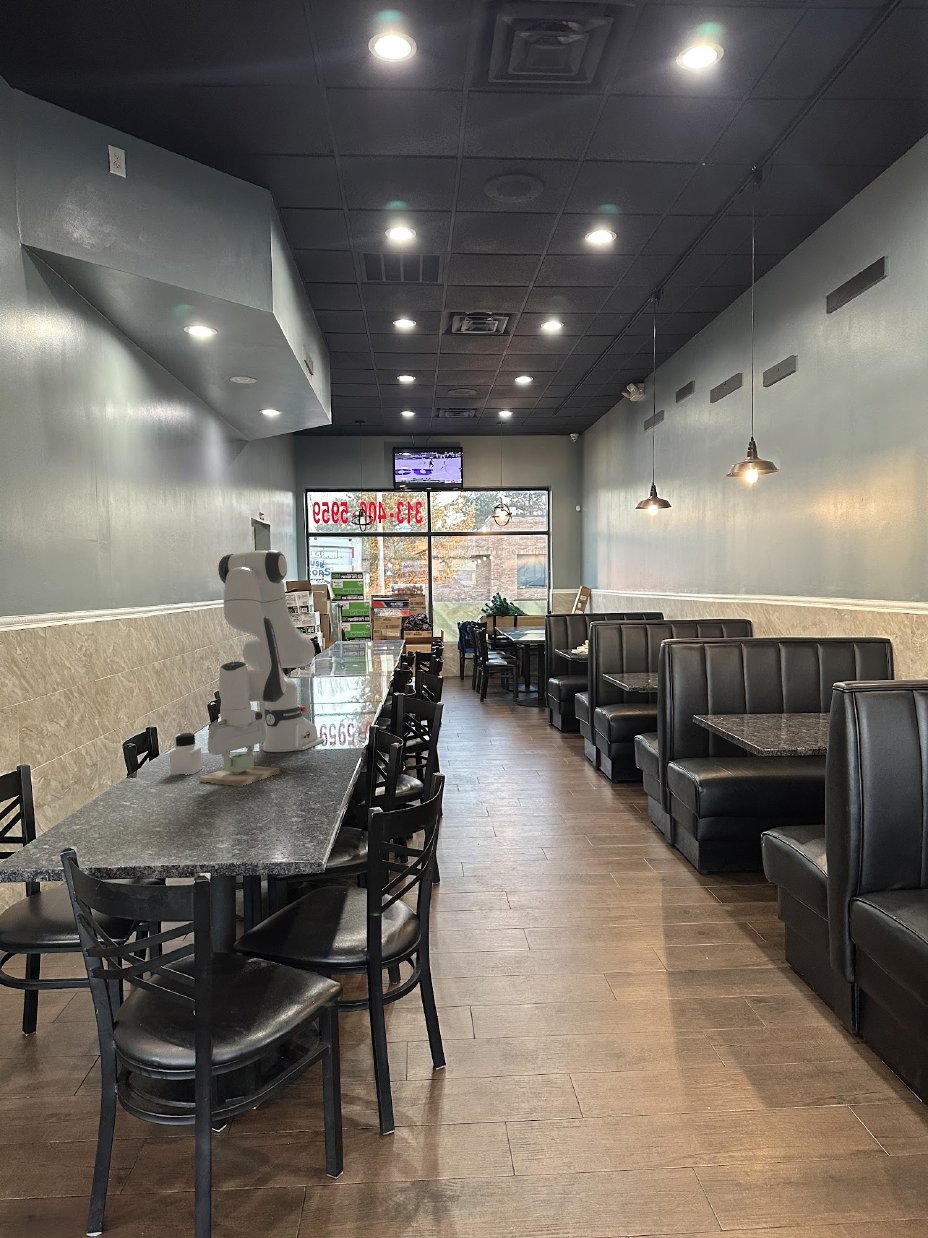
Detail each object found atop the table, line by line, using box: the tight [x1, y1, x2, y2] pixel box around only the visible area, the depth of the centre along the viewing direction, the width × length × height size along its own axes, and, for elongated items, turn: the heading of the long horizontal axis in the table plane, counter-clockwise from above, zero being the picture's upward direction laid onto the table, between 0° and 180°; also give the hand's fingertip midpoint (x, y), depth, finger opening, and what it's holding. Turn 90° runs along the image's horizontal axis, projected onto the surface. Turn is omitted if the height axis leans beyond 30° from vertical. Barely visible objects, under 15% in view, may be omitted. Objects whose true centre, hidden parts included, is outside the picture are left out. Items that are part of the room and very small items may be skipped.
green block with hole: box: [223, 752, 255, 772], centre depth 235 cm, size 6×6×4 cm
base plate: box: [199, 765, 280, 788], centre depth 235 cm, size 16×16×4 cm
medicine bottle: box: [169, 732, 203, 776], centre depth 245 cm, size 7×7×12 cm
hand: (239, 763), depth 235 cm, fingers closed on green block with hole, 6 cm apart
